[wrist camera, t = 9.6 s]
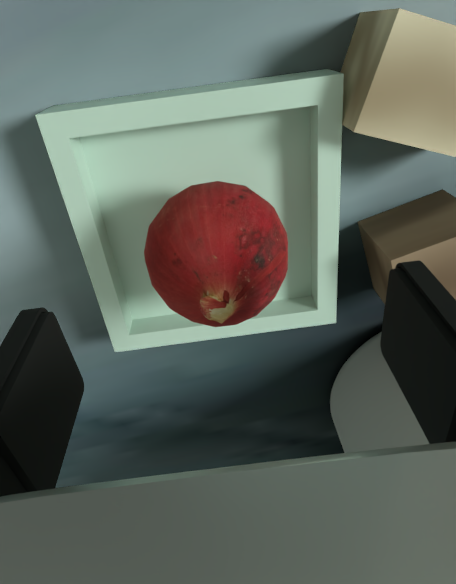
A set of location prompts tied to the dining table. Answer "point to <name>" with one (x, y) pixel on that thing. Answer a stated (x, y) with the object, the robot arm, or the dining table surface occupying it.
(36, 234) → the dining table surface
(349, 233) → the dining table surface
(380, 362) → the cylinder vase
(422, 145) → the beech block
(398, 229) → the walnut block
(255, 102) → the dish
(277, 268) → the red round fruit
